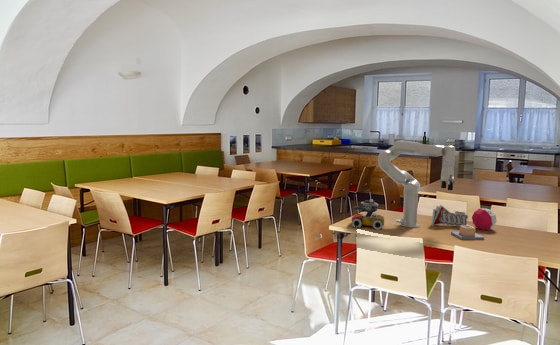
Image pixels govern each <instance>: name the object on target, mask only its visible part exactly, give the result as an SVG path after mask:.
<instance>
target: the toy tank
mask: <svg viewBox="0 0 560 345" xmlns="http://www.w3.org/2000/svg"><path fill="white" fill-rule="evenodd" d="M360 204H361V205H362V206H359V205H358V206H355V205H354V206H353V210H361V212H363V213H364V212H365V213H366V214H363V213H362V214H361V213H359V212H358V213H355V214H353V215H352V218H351V226H352V227H353V226H356V227H359V228H361V227H362V226H370V227H372V228H373V229H375V230H377V231H379V230H382V228H383V227H384V225H385V217H384V216H383V215H381V214H380V215H379V214H377V213H375V212H377V211H378V207H379V203H377V202H375V200H374V199H373V198H371V199H369V200H367V199H365V200H364V201H361V202H360Z"/></svg>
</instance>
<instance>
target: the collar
mask: <svg viewBox="0 0 560 345" xmlns="http://www.w3.org/2000/svg"><path fill="white" fill-rule="evenodd" d="M458 232H459V233H460V234H462V235H464V236H475V233H476V227H475V226H472V225H470V228H466V227H465V226H459V231H458Z"/></svg>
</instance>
